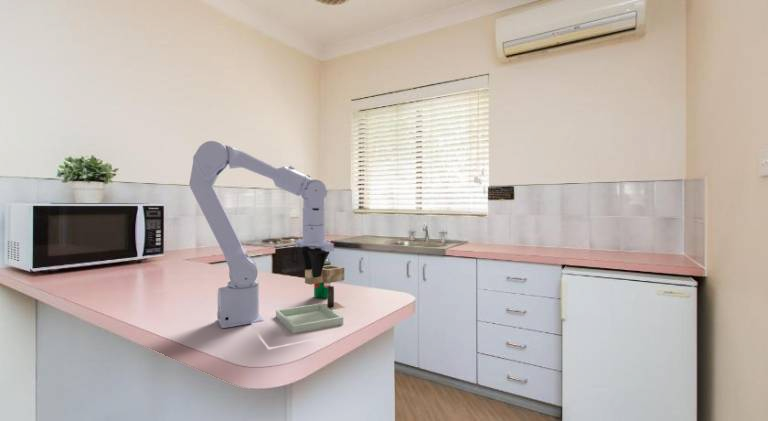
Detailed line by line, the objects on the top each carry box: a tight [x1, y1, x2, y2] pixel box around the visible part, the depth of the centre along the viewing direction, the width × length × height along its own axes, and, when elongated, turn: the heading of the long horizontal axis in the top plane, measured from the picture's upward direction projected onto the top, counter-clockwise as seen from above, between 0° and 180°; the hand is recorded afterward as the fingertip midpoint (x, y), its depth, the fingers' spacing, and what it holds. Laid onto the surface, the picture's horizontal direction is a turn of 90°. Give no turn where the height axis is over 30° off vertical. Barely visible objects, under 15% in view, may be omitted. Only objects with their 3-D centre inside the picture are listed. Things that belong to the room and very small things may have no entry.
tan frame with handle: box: [304, 264, 345, 285], centre depth 98 cm, size 10×6×4 cm, turn 137°
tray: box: [275, 303, 344, 335], centre depth 88 cm, size 12×14×2 cm
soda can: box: [313, 257, 332, 300], centre depth 111 cm, size 5×5×12 cm
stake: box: [322, 285, 346, 311], centre depth 100 cm, size 6×6×6 cm
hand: (313, 276), depth 95 cm, fingers closed on tan frame with handle, 2 cm apart
